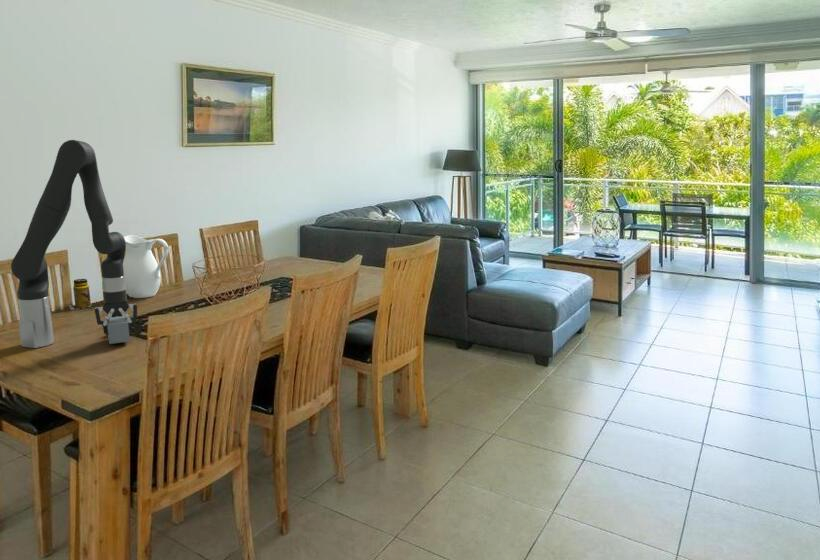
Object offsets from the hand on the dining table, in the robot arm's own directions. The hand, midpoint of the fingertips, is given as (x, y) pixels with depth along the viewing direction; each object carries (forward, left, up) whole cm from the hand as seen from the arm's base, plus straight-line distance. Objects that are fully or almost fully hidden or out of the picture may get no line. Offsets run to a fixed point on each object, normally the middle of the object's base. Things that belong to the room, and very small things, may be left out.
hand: (118, 333), depth 224 cm
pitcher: (+59, +35, -3) cm, 69 cm away
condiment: (+34, +50, -3) cm, 61 cm away
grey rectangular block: (0, 0, -2) cm, 2 cm away
